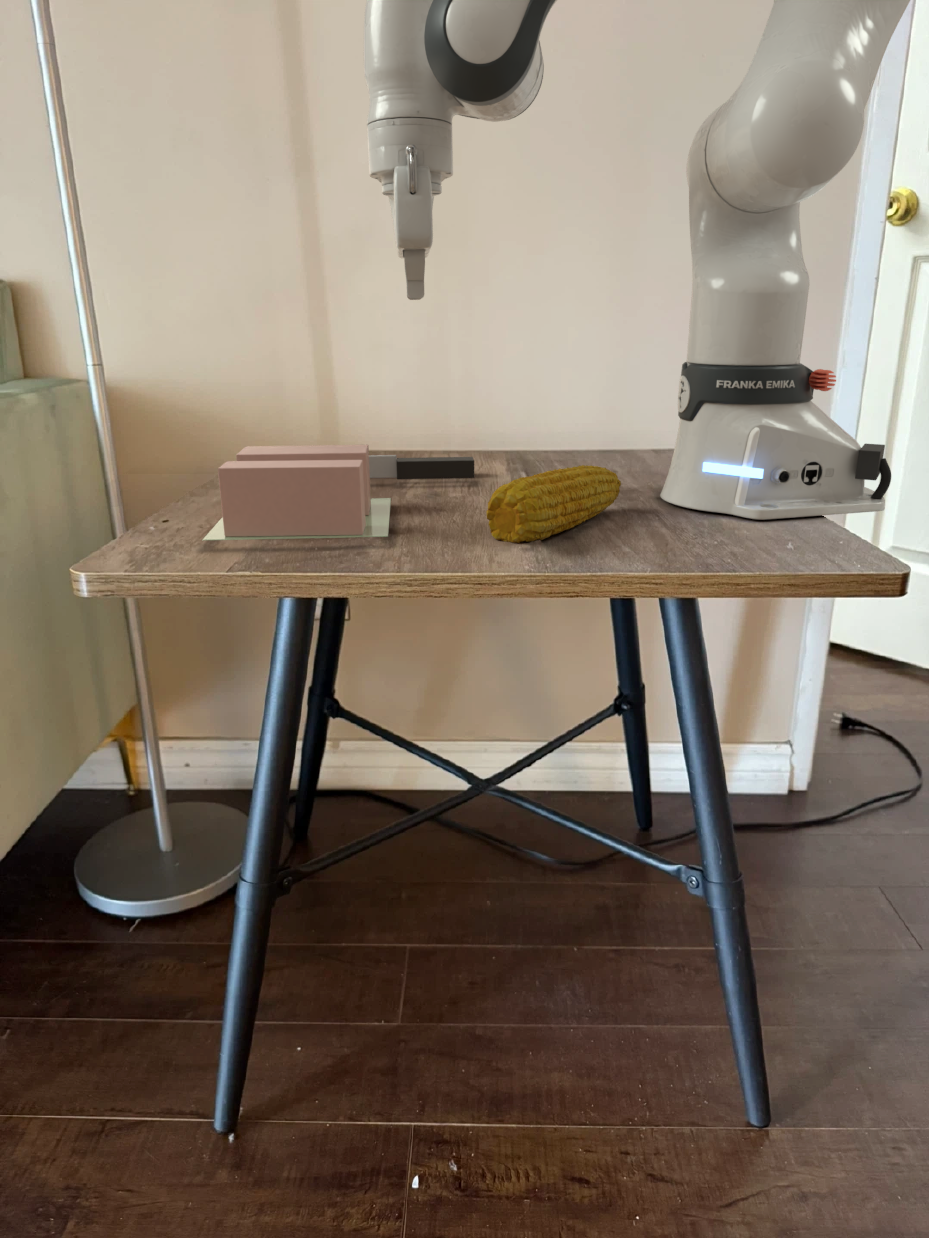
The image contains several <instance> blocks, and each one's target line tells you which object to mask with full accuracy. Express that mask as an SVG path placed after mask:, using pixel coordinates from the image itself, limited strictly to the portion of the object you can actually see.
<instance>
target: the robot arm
mask: <svg viewBox="0 0 929 1238" xmlns="http://www.w3.org/2000/svg"><path fill="white" fill-rule="evenodd" d="M557 1H558V0H366V2H365V7H364V20H363V73H364V81H365V85H366V88H367V91H368V98H369V107H368V113H367V118H366V134H367V137H366V138H367V155H368V156H367V157H368V158H367V159H368V175H369V177H370V178H371V179H375V180H376V181H378V182H379V183H380V184H381V195H383V196H387V197H388V201H389V202H388V203H389V207H390V214H391V215H390V216H391V221H392V227H393V228H392V229H393V234H394V241H395V247H396V252H397V256H398V257H399V258H400V259H403V260H404V274H405V284H406V297H407V299H408V300H409V301H414V300H415V301H418V300H421V299H423V298H424V297H425V270H426V258H428V256H429V253H430V251H431V250H432V246H433V242H434V225H433V223H434V221H433V220H434V219H433V207H434V200H435V196H439V195H441V194H442V192H443V191H442V182H444V181H445V180H446V179H449V178H452V177H453V175H454V148H453V143H454V142H453V118H454V117H455V116H462V117H465V118H471V119H476V120H482V121H485V122H492V123H494V122H495V123H498V122H505V121H509V120H512V119H514V118H516V117H519V116H520V115H522V114H524V112H526V110H528V108H529V107H531V105H532V104H533V102H534V101H535V99H536V98H537V96H538V95H539V92H540V89H541V87H542V83H543V79H544V68H545V65H544V57H543V50H542V47H541V42H540V41H541V40H540V38H541V34H542V31H543V27H544V24H545V22H546V20H547V17H548V15H549V13H550V12H551V10H552V8H553V7H554V6H555V4H556V2H557ZM910 2H911V0H773V4H772V7H771V10H770V13H769V16H768V18H767V21H766V24H765V27H764V30H763V33H762V35H761V38H760V40H759V43H758V46H757V48H756V51H755V53H754V55H753V58H752V60H751V63H750V65H749V67H748V69H747V71H746V73H745V75H744V77H743V79H742V81H741V82H740V84H739V85H738V86H737V88H736V89H735V90H734V92H733V93H732V94H731V96H730V97H729V98H728V99H727V100H726V101H725V102H723V103H722V104H721V105H719V106H718V107H717V108H715V110H713V111H712V112H711V113H710V114H709V115H708V116H707V117H705V119H704V120H703V121H702V123H701V125H700V126H699V128H698V129H697V131H696V133H695V135H694V137H693V140H692V142H691V145H690V149H689V151H688V154H687V160H686V171H685V173H686V182H687V185H688V208H689V209H688V214H689V215H688V217H689V218H688V219H689V239H690V252H691V274H692V275H691V278H692V280H691V282H692V283H691V297H690V298H691V299H690V313H689V325H688V338H687V350H686V351H687V352H686V361H684V362H683V363H682V364H681V372H680V373H681V374H680V376H679V380H678V381H679V382H678V390H677V391H678V393H677V416H678V417H679V423H678V428H677V433H676V439H675V445H674V449H673V454H672V458H671V463H670V466H669V469H668V472H667V476H666V478H665V482H664V484H663V487H662V489H661V491H660V494H659V497H660V498H661V499H662V500H663V501H665V502H667V503H670V504H672V505H675V506H678V507H682V508H686V509H690V510H691V509H692V510H697V511H703V512H709V513H719V514H727V515H731V516H732V515H733V516H736V517H740V518H746V519H752V520H760V521H761V520H763V521H765V520H777V519H790V518H805V517H817V516H818V517H819V516H831V515H832V516H833V515H846V514H847V515H848V514H861V513H873V512H874V513H875V512H883V511H885V508H886V499H885V497H884V496H885V494H886V493H887V492H888V490H889V487H890V486H891V482H892V471H891V467H890V465H889V463H888V461H887V458H885V457H884V455H885V454H884V453H885V449H886V448H885V447H886V444H880V443H864V444H863V445H862V446H861V445H860V444H859V442H858V440H856V439H855V438H854V437H853V436H851V434H849V433H848V431H846V430H845V429H844V428H842V427H841V426H840V425H839V424H838V423H836V422H835V420H833V418H831V417H830V416H829V414H827V413H826V412H825V411H823V410H822V409H821V408H820V407H819V406H817V404H816V403H814V401H812V400H813V399H814V391H815V390H817V391H818V390H819V391H821V392H828V391H830V390H832V389H833V387H834V386H835V385H836V382H837V379H834V378H837V376H836V375H835V372H834V371H832V370H830V369H822V368H819V369H815V370H814V371H813V370H812V369H811V368H810V367H808V366H806V365H804V364H803V363H801V357H802V348H803V342H804V341H803V340H804V334H805V333H804V331H805V324H806V317H807V316H806V315H807V307H808V300H809V299H808V298H809V292H810V275H809V272H808V269H807V267H806V264H805V260H804V255H803V246H802V245H803V244H802V236H801V221H800V220H801V219H800V205H801V203H802V202H803V201H805V200H808V199H810V198H811V197H813V196H815V195H816V194H818V193H819V192H820V191H821V190H823V189H824V188H825V187H826V186H827V185H829V183H831V182H832V180H834V179H835V178H836V177H837V176H838V174H839V173H840V172H841V171H842V170H843V169H844V168H845V167H846V166H847V164H848V163H849V162H850V160H851V159H852V157H853V156H854V154H855V152H856V150H857V148H858V146H859V144H860V142H861V139H862V135H863V130H864V125H865V124H864V123H865V110H866V106H867V103H868V101H869V99H870V95H871V92H872V89H873V87H874V84H875V80H876V78H877V75H878V73H879V69H880V67H881V63H882V61H883V58H884V55H885V53H886V52H887V48H888V45H889V43H890V41H891V39H892V37H893V35H894V33H895V31H896V29H897V27H898V25H899V23H900V22H901V19H902V18H903V15H904V13H905V11H906V10H907V7H908V6H909V4H910ZM833 382H834V383H833ZM879 476H880V480H879V484H878V485H877V487H876V489H875V490H874V489H870V488H868V487H865V483H866V481H877V480H878V478H879Z"/></svg>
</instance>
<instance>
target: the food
mask: <svg viewBox="0 0 929 1238" xmlns="http://www.w3.org/2000/svg"><path fill="white" fill-rule="evenodd" d="M621 486H622V481H621V480H620V479H619V477H618V475H617V473H616V472H614V471H612V470H610V469H608V468H607V467H601V466H598V465H587V464H586V465H584V464H582V465H577V466H571V467H566V468H564V467H563V468H558V469H556V468H554V469H553V470H547V471H544V472H540V473H536V474H533V475H531V476H522V477H521V476H520V477H518V478H515V479H513V480H511V481H510V482H508V483H503V484H502V485H500V486H499V487H497V489H495V490H494V491H493V493H492V494H491V497H490V499H489V501H488V502H487V510H486V511H485V512H486V513H485V514H486V519H487V520H488V526H489V530H490V534H491V536H492V537H493V538H494V539H495V540H496V541H502V542H506V543H512V544H513V543H514V544H519V543H523V542H528V543H532V542H535V541H537V540H540V541H543V540H545V539H548V538H550V537H552V536H554V535H557V534H559V533H561V532H562V533H563V532H564V531H567V530H570V529H573V528H574V527H576V526H579V525H581V524H582V523H584V522H586V521H588V520H591V519H592V518H594V517H596V516H597V515H599V514H601V513H602V512H604V511H605V510H606V509H607V508H609V507H610V506H612V505H613V504H614V502H615V501H616V500H617V499H618V497H619V494H620V492H621V490H620V487H621Z"/></svg>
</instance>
